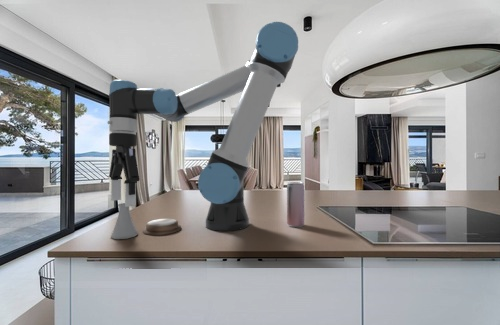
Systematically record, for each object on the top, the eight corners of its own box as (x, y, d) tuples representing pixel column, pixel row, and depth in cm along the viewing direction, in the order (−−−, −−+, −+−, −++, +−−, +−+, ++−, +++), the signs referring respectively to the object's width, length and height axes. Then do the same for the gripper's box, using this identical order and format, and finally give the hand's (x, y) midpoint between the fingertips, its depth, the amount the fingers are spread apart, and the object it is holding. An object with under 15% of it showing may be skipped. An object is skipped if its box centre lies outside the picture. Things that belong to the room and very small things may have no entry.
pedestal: (185, 225, 90) (185, 217, 90) (174, 235, 78) (174, 226, 78) (152, 225, 91) (151, 217, 91) (135, 235, 79) (135, 226, 79)
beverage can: (287, 223, 92) (286, 181, 92) (303, 223, 92) (303, 182, 92) (287, 227, 87) (286, 183, 86) (305, 227, 86) (304, 183, 86)
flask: (127, 240, 73) (126, 206, 73) (105, 239, 75) (105, 205, 75) (142, 233, 81) (142, 202, 80) (122, 232, 82) (122, 201, 82)
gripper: (98, 134, 84) (98, 199, 84) (123, 128, 66) (122, 210, 66) (123, 136, 89) (122, 196, 89) (152, 131, 71) (151, 207, 71)
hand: (122, 203), depth 78 cm, fingers open, 13 cm apart
